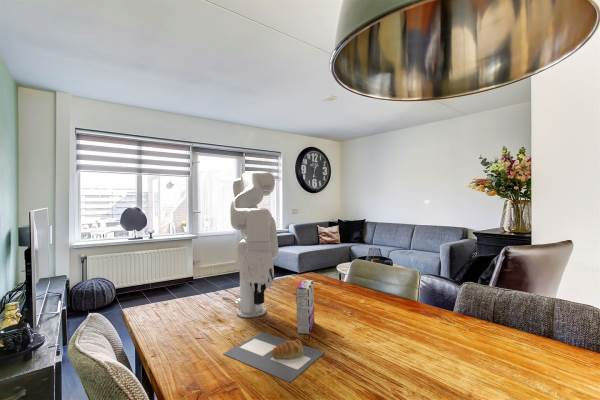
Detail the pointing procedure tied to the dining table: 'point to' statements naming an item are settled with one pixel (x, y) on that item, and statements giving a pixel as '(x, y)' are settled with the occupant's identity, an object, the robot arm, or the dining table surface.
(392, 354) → the dining table surface
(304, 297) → the candy bar box
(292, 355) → the pastry
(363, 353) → the dining table surface
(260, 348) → the label mat
